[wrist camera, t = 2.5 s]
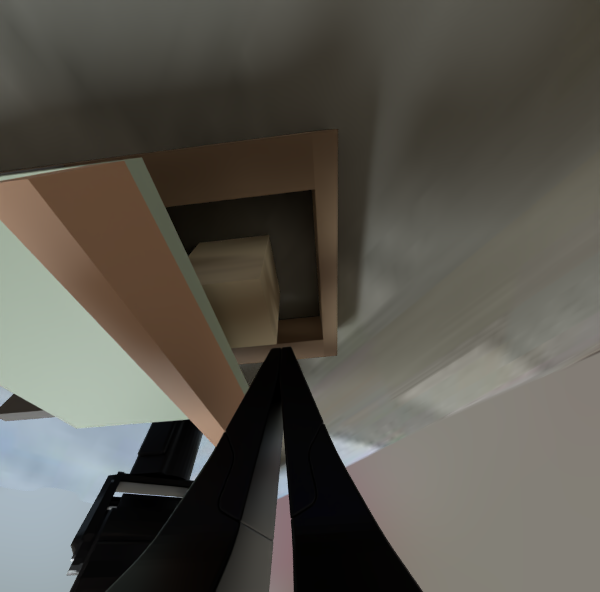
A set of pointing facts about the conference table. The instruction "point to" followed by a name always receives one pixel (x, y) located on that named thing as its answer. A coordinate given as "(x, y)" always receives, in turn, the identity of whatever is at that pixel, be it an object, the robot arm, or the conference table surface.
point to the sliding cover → (107, 304)
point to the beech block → (241, 288)
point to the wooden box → (241, 184)
